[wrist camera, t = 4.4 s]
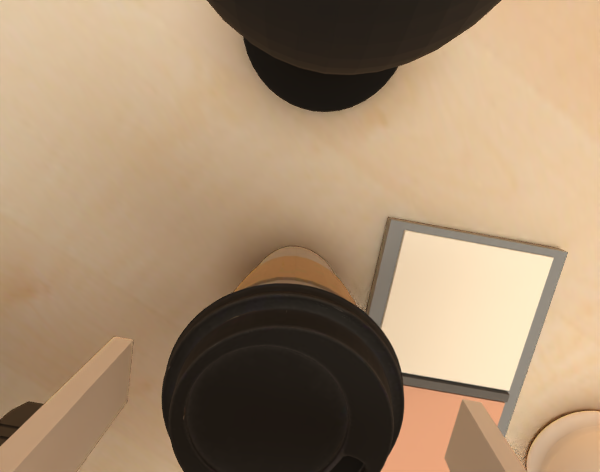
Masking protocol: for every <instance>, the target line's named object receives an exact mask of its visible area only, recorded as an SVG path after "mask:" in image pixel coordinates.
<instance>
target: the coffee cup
mask: <svg viewBox="0 0 600 472" xmlns="http://www.w3.org/2000/svg"><path fill="white" fill-rule="evenodd" d="M162 410H163V417H164V421H165V426H166V429H167V432H168V435H169V437H170V439H171V443H172V447H173V450H174V453H175V456H176V458H177V460H178V463H179V464H180V466H181V468H182V470H183V471H184V472H381V470H382V468H383V466H384V465H385V462H386V460H387V458H388V456H389V454H390V453H391V451H392V449H393V447H394V445H395V443H396V441H397V438H398V436H399V433H400V430H401V426H402V422H403V416H404V387H403V377H402V372H401V367H400V364H399V361H398V358H397V355H396V353H395V350H394V348H393V347H392V345H391V343H390V341H389V339H388V338H387V336H386V335H385V333H384V332H383V331H382V330H381V328H380V327H379V326H378V325H377V323H376V322H375V321H374V320H373V319H372V318H371V317H370V316H368V315H367V314H366V313H365V312H364V311H363V310H361V309H360V308H358V307H357V305H356V304H355V302H354V300H353V299H352V297H351V296H350V294H349V292H348V291H347V289H346V287H345V286H344V285H343V284H342V282H341V281H340V280H339V278H338V277H337V276H335V274H334V272H333V271H332V269H331V268H330V266H329V265H328V264H327V262H326V261H325V260H323V259H322V258H321V257H320V256H319V255H317V254H316V253H314V252H313V251H310V250H308V249H306V248H302V247H297V246H288V247H284V248H280V249H278V250H276V251H274V252H273V253H271V254H270V255H269V256H267V257H266V258H265V259H264V260H263V261H262V262H261V263H260V265H259V266H258V267H257V268H255V269H254V270H253V271H252V272H251V273H250V274H249V275H248V276H247V277H246V278H245V279H244V280H243V281H242V283H241V284H240V285H239V286H238V287H237V288H236V290H235V291H234V292H233V293H231V294H229V295H227V296H224V297H222V298H221V299H219V300H217V301H215V302H214V303H212V304H211V305H209V306H208V307H206V308H205V309H204V310H203V311H201V312H200V313H199V314H198V315H197V316H196V317H195V318H194V319H193V320H192V321H191V322H190V323H189V324H188V326H187V327H186V328H185V329H184V331H183V332H182V333H181V335H180V337H179V338H178V340H177V342H176V344H175V345H174V347H173V350H172V352H171V355H170V357H169V361H168V364H167V368H166V373H165V376H164V381H163V387H162Z"/></svg>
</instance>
